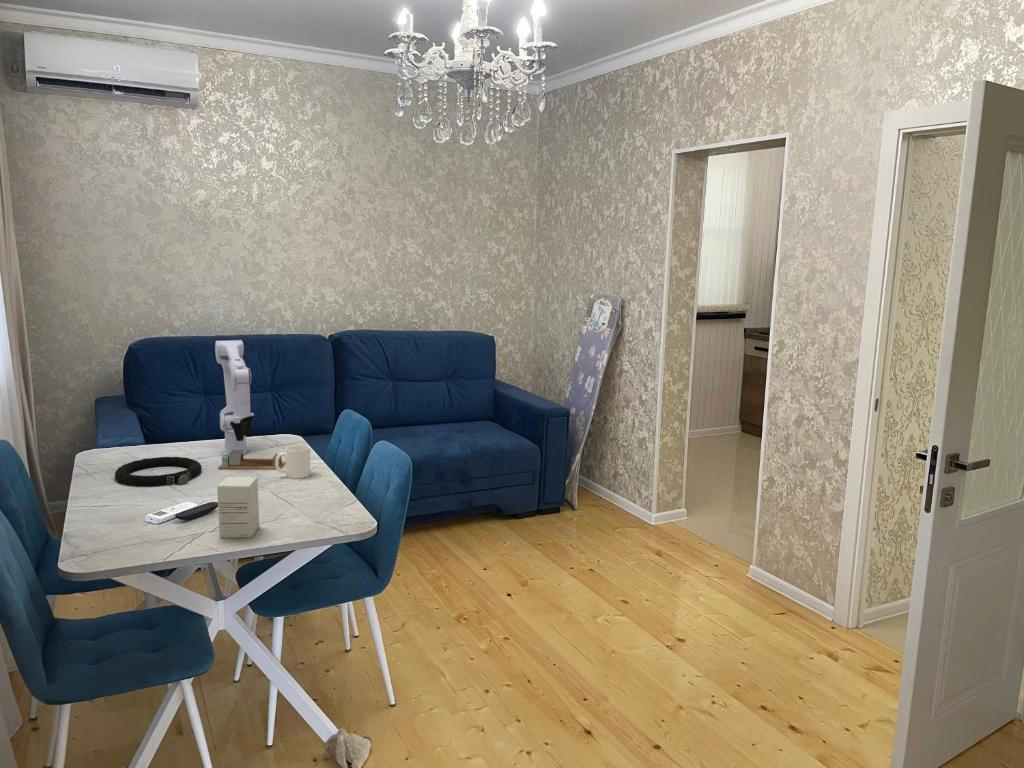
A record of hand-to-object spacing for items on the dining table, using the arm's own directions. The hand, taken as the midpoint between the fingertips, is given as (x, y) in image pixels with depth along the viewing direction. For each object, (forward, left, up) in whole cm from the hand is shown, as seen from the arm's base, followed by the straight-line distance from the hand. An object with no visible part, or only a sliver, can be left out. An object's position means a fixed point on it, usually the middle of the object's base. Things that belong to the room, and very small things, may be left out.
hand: (242, 438), depth 274 cm
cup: (+13, +20, -11) cm, 26 cm away
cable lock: (+13, -25, -11) cm, 30 cm away
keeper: (+1, -2, -10) cm, 11 cm away
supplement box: (+67, +16, -11) cm, 70 cm away
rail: (+1, +3, -10) cm, 11 cm away
